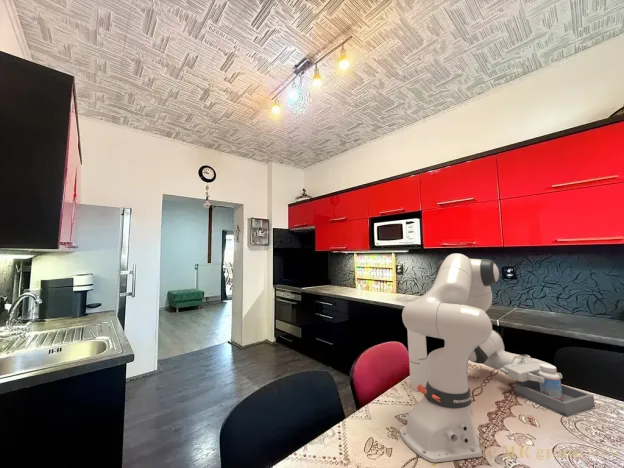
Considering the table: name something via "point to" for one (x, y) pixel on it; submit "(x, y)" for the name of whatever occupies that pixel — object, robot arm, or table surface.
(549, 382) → the pill bottle
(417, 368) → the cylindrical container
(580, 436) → the table surface
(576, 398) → the tray
